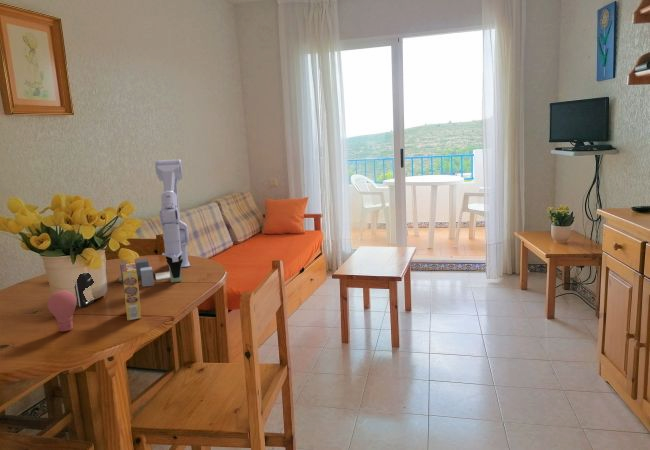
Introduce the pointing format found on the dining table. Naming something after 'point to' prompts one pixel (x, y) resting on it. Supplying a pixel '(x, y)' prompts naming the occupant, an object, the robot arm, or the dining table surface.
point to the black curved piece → (83, 288)
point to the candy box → (131, 291)
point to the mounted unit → (139, 264)
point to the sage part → (175, 278)
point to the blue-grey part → (147, 276)
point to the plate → (162, 275)
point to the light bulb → (62, 308)
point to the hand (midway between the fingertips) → (175, 275)
